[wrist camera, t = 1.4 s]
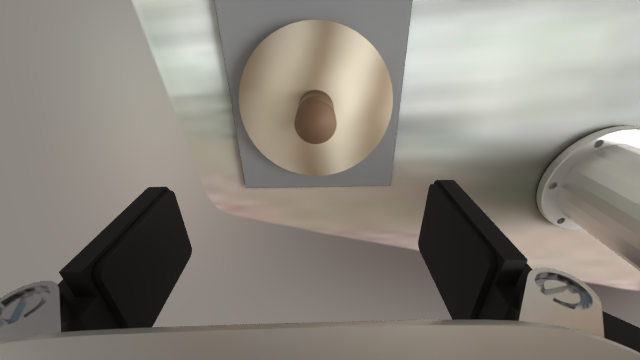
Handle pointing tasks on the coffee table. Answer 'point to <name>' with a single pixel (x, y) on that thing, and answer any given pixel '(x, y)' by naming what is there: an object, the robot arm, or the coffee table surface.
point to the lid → (315, 97)
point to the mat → (299, 5)
